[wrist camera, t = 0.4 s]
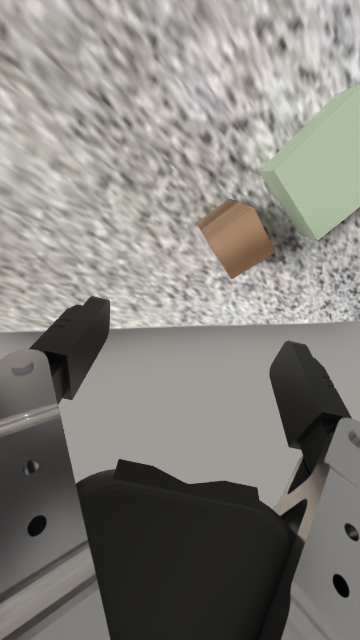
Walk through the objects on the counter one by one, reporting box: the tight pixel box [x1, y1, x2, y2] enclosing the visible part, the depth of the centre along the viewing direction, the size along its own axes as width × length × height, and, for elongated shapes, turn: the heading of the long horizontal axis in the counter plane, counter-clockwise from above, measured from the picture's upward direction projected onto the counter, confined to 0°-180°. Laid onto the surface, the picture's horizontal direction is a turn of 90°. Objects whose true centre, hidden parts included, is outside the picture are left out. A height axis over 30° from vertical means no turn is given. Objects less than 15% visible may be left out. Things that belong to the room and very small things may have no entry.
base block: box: [259, 84, 360, 240], centre depth 27 cm, size 10×10×5 cm
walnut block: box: [196, 199, 275, 279], centre depth 28 cm, size 5×5×10 cm
